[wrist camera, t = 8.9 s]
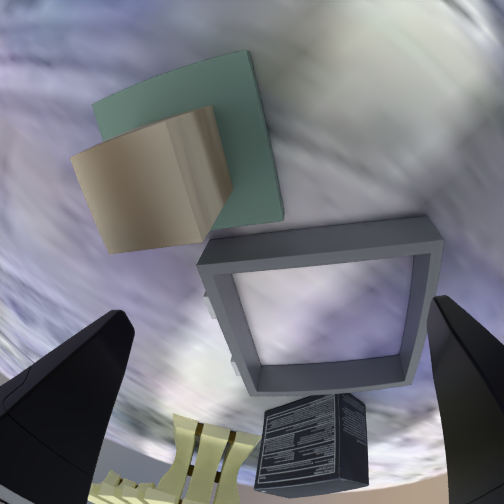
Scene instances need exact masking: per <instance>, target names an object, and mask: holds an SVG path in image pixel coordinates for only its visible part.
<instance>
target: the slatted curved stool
mask: <svg viewBox="0 0 504 504" xmlns="http://www.w3.org/2000/svg"><path fill="white" fill-rule="evenodd" d="M173 427H174V440H175V444H176V457H175V460H174V462H173V464H172V466H171V468H170V469H169V470H168V472H167V473H166V474H165V475H164V476H163V477H162V478H161V479H160V482H159V484H158V486H157V488H156V489H155V487H156V486H155V484H154V483H140V484H139V486H138V485H137V484H136V483H135V482H133V481H130V480H128V479H125V478H124V479H122V478H121V477H120V476H119V475H118V474H116V473H115V472H113V471H112V470H110V471H109V473H108V475H107V477H106V478H105V480H104V481H103V482H102V483H100V484H91V488H90V492H89V496H88V501H91V502H93V503H96V504H209V503H210V497H211V492H212V488H213V484H214V482H216V483H218V485H217V490H216V494H215V498H214V502H213V504H239V502H240V497H239V494H238V490H237V474H238V471H239V468H240V466H241V464H242V463H243V461H244V460H245V459H246V458H247V457H248V456H249V454H250V453H251V452H252V450H253V449H254V448H255V446H256V445H257V444H258V442H259V441H260V439H261V438H262V436H260V435H255V434H250V433H245V432H240V431H237V432H236V433H235V432H231V431H230V429H227V428H223V427H219V426H215V425H211V424H207V423H204V425H203V424H199V423H198V421H196V420H193V419H189V418H186V417H183V416H179V415H176V414H173ZM196 435H199V436H201V439H200V444H199V449H198V454H197V458H196V463H195V466H194V465H190V464H191V460H192V456H193V452H194V448H195V441H196ZM227 443H231V445H230V447H229V449H228V451H227V453H226V455H225V458H224V461H223V465H222V469H221V472H218V471H217V468H218V465H219V462H220V459H221V456H222V454H223V451H224V449H225V446H226V444H227ZM187 475H189V476H192V477H191V481H190V484H189V488H188V491H187V495H186V498H183V500H181V495H182V492H183V488H184V485H185V481H186V477H187Z"/></svg>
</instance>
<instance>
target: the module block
mask: <svg viewBox="0 0 504 504" xmlns="http://www.w3.org/2000/svg"><path fill="white" fill-rule="evenodd" d="M70 159H71V162H72V165H73V168H74V170H75V173H76V176H77V179H78V181H79V184H80V187H81V189H82V192H83V194H84V197H85V199H86V202H87V204H88V207H89V209H90V212H91V214H92V216H93V219H94V221H95V223H96V226H97V228H98V230H99V233H100V235H101V237H102V239H103V242H104V244H105V246H106V248H107V250H108V252H109V254H116V253H124V252H132V251H139V250H147V249H155V248H163V247H170V246H178V245H186V244H195V243H203V241H204V240H205V238H206V236H207V234H208V232H209V231H210V229H211V227H212V225H213V224H214V222H215V220H216V218H217V217H218V215H219V213H220V211H221V210H222V208H223V206H224V204H225V203H226V201H227V199H228V197H229V196H230V194H231V192H232V191H233V185H232V182H231V178H230V174H229V170H228V166H227V162H226V158H225V154H224V150H223V146H222V142H221V138H220V135H219V131H218V127H217V123H216V119H215V115H214V111H213V107H212V105H210V106H206V107H202V108H199V109H195V110H191V111H188V112H184V113H181V114H177V115H174V116H171V117H167V118H164V119H161V120H158V121H155V122H152V123H149V124H146V125H143V126H140V127H137V128H134V129H132V130H129V131H127V132H124V133H122V134H120V135H117V136H115V137H113V138H110V139H108V140H106V141H104V142H101V143H99V144H97V145H95V146H93V147H91V148H89V149H86V150H84V151H82V152H80V153H78V154H76V155H74V156H72V157H70Z"/></svg>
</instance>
